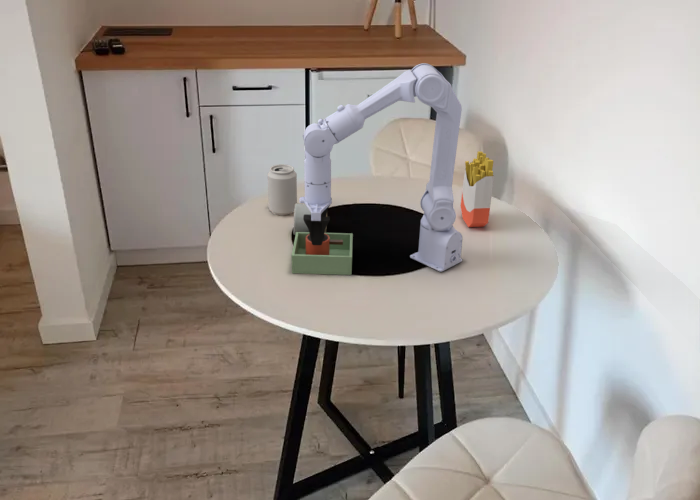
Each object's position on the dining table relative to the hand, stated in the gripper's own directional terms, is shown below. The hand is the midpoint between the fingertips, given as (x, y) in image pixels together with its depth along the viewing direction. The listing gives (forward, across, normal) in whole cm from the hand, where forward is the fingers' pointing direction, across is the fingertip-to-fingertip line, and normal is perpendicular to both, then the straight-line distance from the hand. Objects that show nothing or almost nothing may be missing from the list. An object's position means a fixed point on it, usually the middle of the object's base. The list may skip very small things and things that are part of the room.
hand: (318, 236), depth 152 cm
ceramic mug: (+6, -16, -3) cm, 17 cm away
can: (+6, -28, -11) cm, 30 cm away
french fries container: (+7, -23, +39) cm, 46 cm away
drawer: (+6, 0, +1) cm, 6 cm away
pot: (+6, 0, +1) cm, 6 cm away
